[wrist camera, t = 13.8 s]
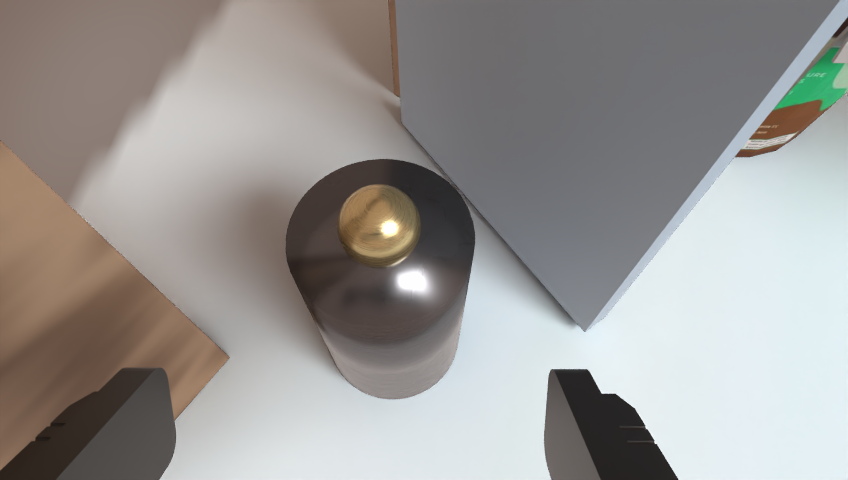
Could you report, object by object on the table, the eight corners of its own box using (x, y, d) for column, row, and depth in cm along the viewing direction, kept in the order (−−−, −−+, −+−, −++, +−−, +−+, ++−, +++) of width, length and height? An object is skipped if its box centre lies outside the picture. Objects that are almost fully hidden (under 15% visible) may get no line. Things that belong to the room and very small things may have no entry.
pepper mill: (381, 254, 26) (358, 93, 17) (482, 319, 25) (519, 182, 15) (303, 349, 24) (226, 226, 15) (408, 426, 23) (398, 345, 13)
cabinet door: (401, 122, 30) (375, -364, 14) (441, 100, 30) (461, -386, 14) (584, 332, 24) (893, -70, 8) (628, 299, 25) (989, -128, 9)
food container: (857, 190, 28) (1054, 30, 19) (731, 181, 28) (870, 19, 20) (802, 19, 34) (934, -164, 25) (698, 12, 34) (793, -171, 25)
